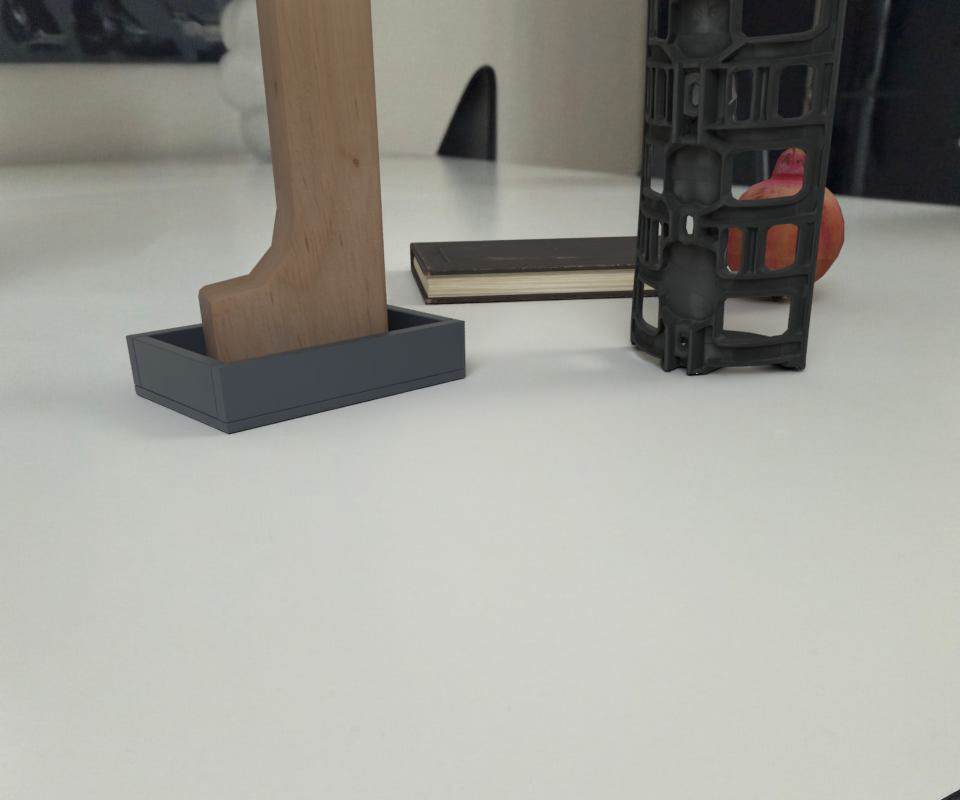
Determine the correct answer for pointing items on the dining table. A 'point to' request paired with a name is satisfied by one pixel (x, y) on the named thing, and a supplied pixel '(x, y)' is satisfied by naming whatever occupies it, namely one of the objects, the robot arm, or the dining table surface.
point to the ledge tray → (295, 371)
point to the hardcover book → (526, 269)
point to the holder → (727, 182)
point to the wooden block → (312, 191)
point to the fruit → (785, 236)
